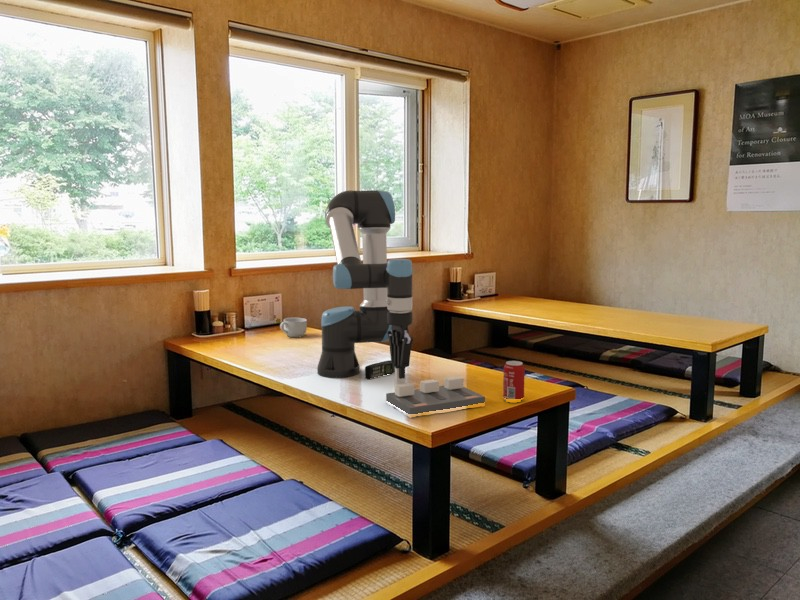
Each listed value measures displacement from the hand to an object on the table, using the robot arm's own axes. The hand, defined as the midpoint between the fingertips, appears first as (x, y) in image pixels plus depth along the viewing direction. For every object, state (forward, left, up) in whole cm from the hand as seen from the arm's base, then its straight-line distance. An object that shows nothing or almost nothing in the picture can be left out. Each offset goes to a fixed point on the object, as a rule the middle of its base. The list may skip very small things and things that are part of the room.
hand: (400, 387), depth 196 cm
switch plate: (+6, +9, -5) cm, 12 cm away
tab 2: (+3, +9, -1) cm, 9 cm away
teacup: (-114, 0, -5) cm, 114 cm away
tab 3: (+3, +17, -1) cm, 17 cm away
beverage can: (+13, +32, -5) cm, 35 cm away
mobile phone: (-32, +9, -5) cm, 33 cm away
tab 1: (+3, 0, -1) cm, 3 cm away
